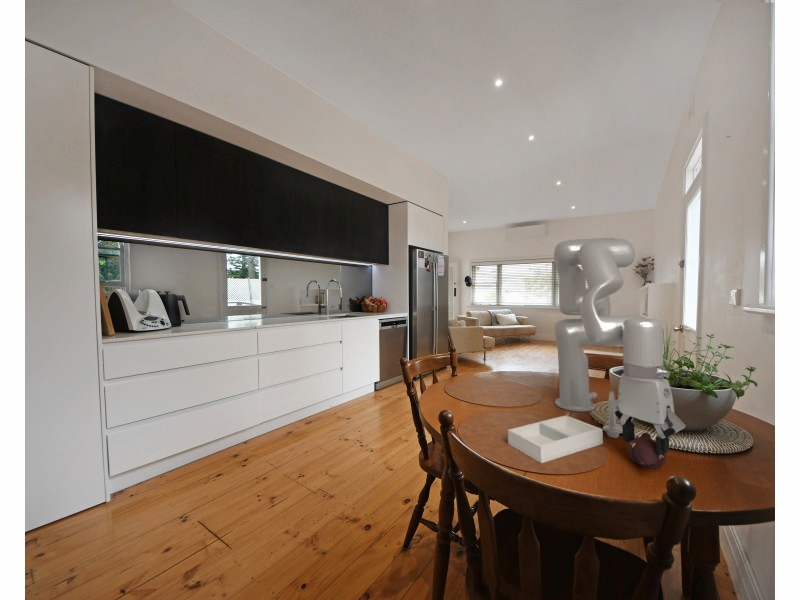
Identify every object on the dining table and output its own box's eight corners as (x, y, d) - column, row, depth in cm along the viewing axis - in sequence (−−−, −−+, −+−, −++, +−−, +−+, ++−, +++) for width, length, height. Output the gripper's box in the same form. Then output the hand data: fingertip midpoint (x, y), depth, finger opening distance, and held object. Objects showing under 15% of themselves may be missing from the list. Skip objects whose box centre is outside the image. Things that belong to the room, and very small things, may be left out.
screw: (615, 432, 95) (627, 439, 90) (599, 432, 95) (610, 440, 90) (613, 388, 95) (625, 392, 90) (597, 388, 95) (608, 393, 90)
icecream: (673, 457, 68) (666, 436, 80) (631, 440, 72) (630, 423, 84) (664, 487, 68) (658, 462, 81) (622, 469, 73) (623, 448, 85)
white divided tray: (566, 428, 99) (565, 415, 99) (602, 443, 88) (602, 429, 88) (508, 444, 90) (507, 429, 90) (541, 463, 79) (540, 447, 79)
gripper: (697, 377, 69) (699, 459, 70) (616, 362, 85) (618, 429, 86) (677, 382, 66) (678, 468, 67) (597, 366, 82) (598, 435, 83)
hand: (644, 446), depth 76 cm, fingers closed on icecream, 6 cm apart
